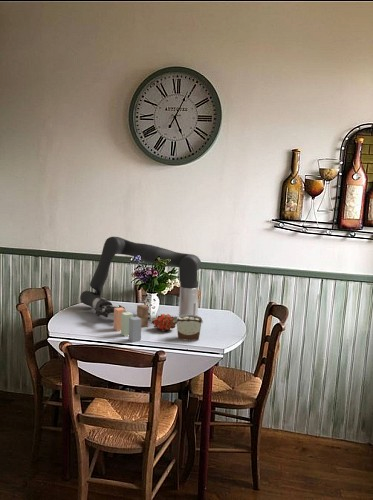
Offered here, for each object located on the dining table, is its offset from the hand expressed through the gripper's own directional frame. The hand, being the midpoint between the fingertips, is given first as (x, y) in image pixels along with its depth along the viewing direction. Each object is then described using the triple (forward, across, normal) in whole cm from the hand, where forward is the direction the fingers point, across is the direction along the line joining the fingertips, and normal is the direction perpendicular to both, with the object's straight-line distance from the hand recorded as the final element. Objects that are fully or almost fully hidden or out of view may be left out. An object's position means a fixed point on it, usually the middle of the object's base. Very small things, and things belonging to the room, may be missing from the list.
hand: (115, 314), depth 220 cm
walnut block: (+5, +12, +6) cm, 14 cm away
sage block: (+13, 0, +6) cm, 14 cm away
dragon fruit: (+14, +18, +6) cm, 24 cm away
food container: (+28, +23, +6) cm, 37 cm away
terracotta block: (+5, 0, +6) cm, 8 cm away
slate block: (+21, 0, +6) cm, 21 cm away
